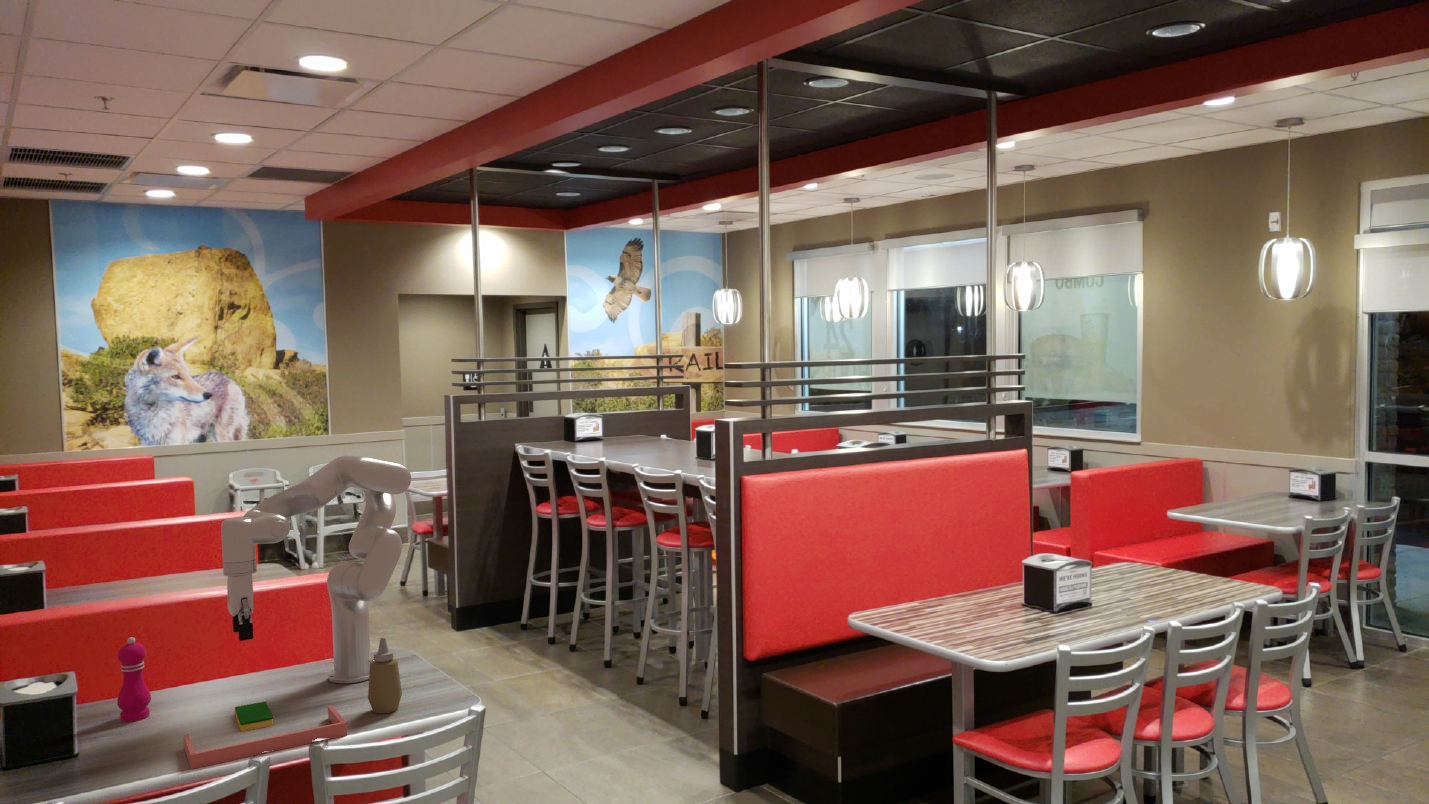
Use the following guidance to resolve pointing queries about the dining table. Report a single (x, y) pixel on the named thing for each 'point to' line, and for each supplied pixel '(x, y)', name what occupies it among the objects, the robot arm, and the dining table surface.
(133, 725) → the dining table surface
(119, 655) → the pepper mill
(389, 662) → the squeeze bottle
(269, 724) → the dish sponge
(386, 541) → the robot arm
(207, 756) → the pink u-shaped bracket
